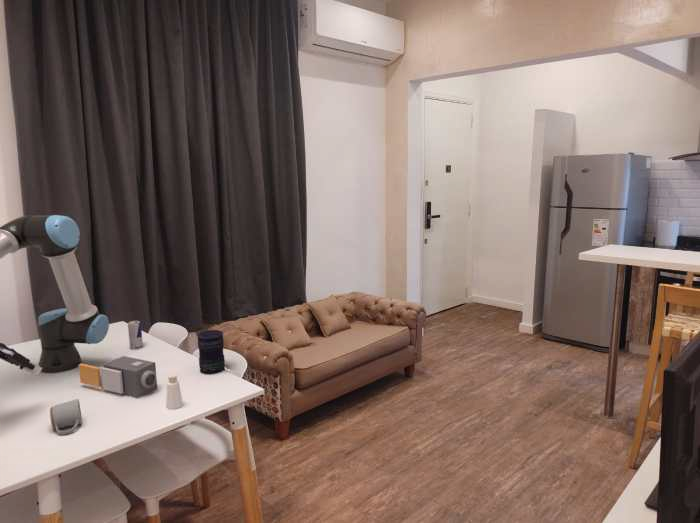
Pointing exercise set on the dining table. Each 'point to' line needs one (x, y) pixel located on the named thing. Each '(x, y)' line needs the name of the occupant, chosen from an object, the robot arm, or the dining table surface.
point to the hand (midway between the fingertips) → (38, 371)
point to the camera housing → (135, 375)
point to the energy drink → (135, 335)
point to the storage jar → (211, 352)
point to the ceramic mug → (66, 416)
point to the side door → (101, 377)
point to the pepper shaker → (173, 393)
